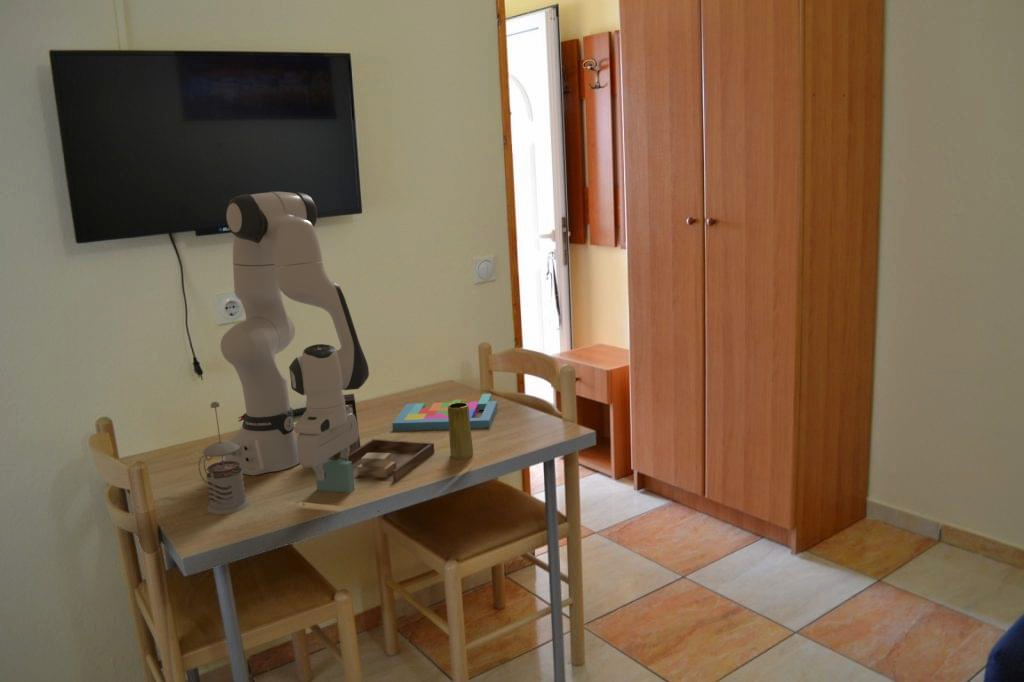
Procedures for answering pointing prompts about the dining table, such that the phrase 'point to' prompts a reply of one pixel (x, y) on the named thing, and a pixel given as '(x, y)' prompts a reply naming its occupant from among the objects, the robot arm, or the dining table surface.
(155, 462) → the dining table surface
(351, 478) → the teal rectangular block
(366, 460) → the offcut top
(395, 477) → the brown wooden tray
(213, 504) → the french press
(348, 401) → the coffee box
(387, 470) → the offcut low
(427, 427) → the tetris game
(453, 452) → the vase
